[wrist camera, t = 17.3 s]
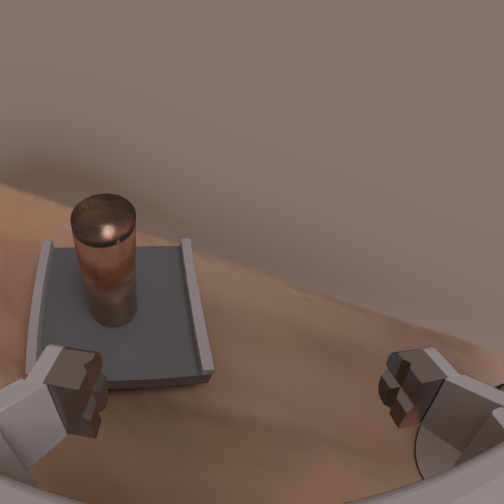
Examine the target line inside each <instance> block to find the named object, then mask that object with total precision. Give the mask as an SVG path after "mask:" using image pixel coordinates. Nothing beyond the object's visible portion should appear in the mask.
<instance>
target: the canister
mask: <svg viewBox="0 0 504 504" xmlns="http://www.w3.org/2000/svg"><path fill="white" fill-rule="evenodd" d="M71 227H72V232H73V238H74V243H75V248H76V252H77V257H78V262H79V266H80V270H81V274H82V279H83V283H84V287H85V290H86V294H87V298H88V302H89V305H90V309H91V312H92V315H93V317H94V318H95V320H96V321H97V322H98V323H100V324H101V325H103V326H106V327H110V328H118V327H122V326H124V325H127V324H128V323H129V322H131V321H132V320H133V318H134V317H135V315H136V312H137V287H136V212H135V209H134V207H133V206H132V204H131V203H130V202H129V201H128V200H127V199H125V198H123V197H121V196H118V195H114V194H98V195H94V196H91V197H89V198H86V199H84V200H83V201H81V202H80V203H79V204H78V205H77V206H76V207H75V208H74V210H73V212H72V214H71Z"/></svg>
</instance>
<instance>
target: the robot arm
mask: <svg viewBox="0 0 504 504" xmlns="http://www.w3.org/2000/svg"><path fill="white" fill-rule="evenodd" d="M386 365H387V367H388V369H387V370H386V371H385V372H384V373H383V374H382V375H381V378H380V381H379V391H378V392H379V396H380V399H381V400H382V402H383V404H385V405H387V406H388V407H390V413H389V414H390V415H391V417H392V419H393V420H394V422H395V424H396V425H397V427H398V428H402V427H407V426H411V425H415V424H419V423H421V424H420V425H421V427H420V429H419V432H418V436H417V441H416V459H417V464H418V467H419V470H420V472H421V474H422V476H423V478H424V479H423V480H420V481H418V482H415V483H412V484H409V485H406V486H403V487H400V488H397V489H394V490H391V491H388V492H384V493H381V494H377V495H374V496H370V497H367V498H363V499H359V500H355V501H350V502H346V503H342V504H504V384H501V385H498V386H496V387H491V386H489V385H487V384H485V383H482V382H480V381H478V380H475V379H473V378H471V377H468V376H466V375H464V374H462V375H460V374H459V373H458V372H457V371H456V370H455V369H454V368H453V367H452V366H451V365H450V363H449V362H448V361H447V360H446V359H445V358H444V357H443V356H442V355H441V354H440V353H439V352H438V351H437V350H436V349H435V348H433V347H426V348H420V349H416V350H409V351H402V352H394V353H392V354H391V355H390V356H389V357H388V360H387V362H386ZM102 366H103V361H102V357H101V354H100V353H99V352H97V351H90V350H84V349H77V348H71V347H64V346H59V345H53V344H50V345H48V346H47V347H46V348H45V350H44V351H43V353H42V354H41V356H40V357H39V359H38V360H37V362H36V363H35V365H34V366H33V368H32V370H31V371H30V373H29V374H28V376H27V377H26V379H25V380H24V379H19V380H17V381H15V382H13V383H11V384H9V385H7V386H6V387H4V388H2V389H0V504H92V503H88V502H83V501H79V500H75V499H71V498H68V497H64V496H61V495H57V494H54V493H51V492H47V491H44V490H41V489H39V487H38V485H37V483H36V482H35V481H34V479H33V478H32V477H31V475H30V474H29V473H28V472H27V470H28V469H29V468H31V467H32V466H33V465H34V464H35V463H36V462H37V461H39V460H40V459H41V458H42V457H43V456H44V455H46V454H47V453H48V452H49V451H50V450H51V449H52V448H54V447H55V446H56V445H57V444H58V443H59V442H60V441H62V440H63V439H64V438H65V437H66V436H67V435H68V434H73V435H79V436H84V437H90V438H96V437H97V434H98V431H99V427H100V424H101V421H102V420H101V417H100V414H99V413H100V412H101V411H103V410H104V409H105V407H106V404H107V399H108V383H107V379H106V376H105V375H104V374H103V373H102V372H101V369H102ZM67 433H68V434H67Z"/></svg>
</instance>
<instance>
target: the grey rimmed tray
mask: <svg viewBox="0 0 504 504" xmlns="http://www.w3.org/2000/svg"><path fill="white" fill-rule="evenodd" d="M136 287H137V312H136V315H135V317H134V318H133V320H132V321H131V322H129V323H128V324H127V325H124V326H122V327H118V328H110V327H106V326H103V325H101V324H100V323H98V322H97V321H96V320H95V318H94V317H93V315H92V312H91V309H90V305H89V302H88V298H87V294H86V290H85V287H84V283H83V279H82V274H81V270H80V266H79V262H78V257H77V252H76V248H54V247H53V243H52V240H44V241H43V245H42V249H41V254H40V259H39V264H38V269H37V274H36V279H35V285H34V291H33V298H32V304H31V312H30V320H29V329H28V339H27V352H26V369H25V375H26V376H28V374H29V373H30V371H31V370H32V368H33V366H34V365H35V363H36V362H37V360H38V359H39V357H40V356H41V354H42V353H43V351H44V350H45V348H46V347H47V346H48V345H50V344H53V345H59V346H64V347H71V348H77V349H84V350H90V351H97V352H99V353H100V354H101V357H102V361H103V366H102V369H101V372H102V373H103V374H104V375H105V376H106V379H107V383H108V389H129V388H150V387H165V386H178V385H189V384H199V383H208V382H209V380H210V378H211V376H212V374H213V372H214V370H215V369H214V364H213V359H212V354H211V350H210V345H209V340H208V335H207V330H206V325H205V320H204V315H203V309H202V304H201V299H200V293H199V288H198V282H197V276H196V271H195V265H194V259H193V253H192V247H191V240H190V239H181V244H180V246H157V247H136Z"/></svg>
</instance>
